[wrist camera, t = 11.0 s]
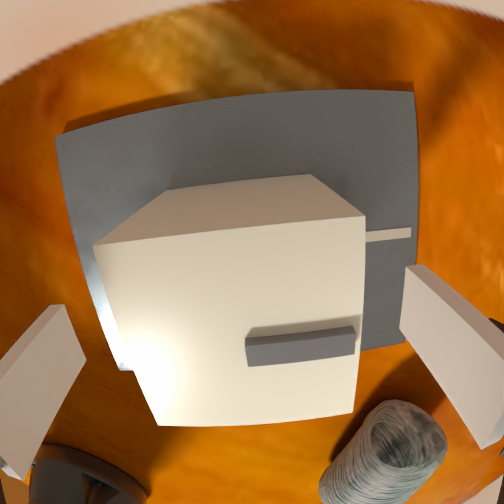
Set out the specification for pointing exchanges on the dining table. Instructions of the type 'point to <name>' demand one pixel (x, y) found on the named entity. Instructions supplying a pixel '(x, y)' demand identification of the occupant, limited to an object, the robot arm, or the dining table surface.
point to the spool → (385, 457)
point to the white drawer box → (240, 300)
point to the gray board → (257, 176)
